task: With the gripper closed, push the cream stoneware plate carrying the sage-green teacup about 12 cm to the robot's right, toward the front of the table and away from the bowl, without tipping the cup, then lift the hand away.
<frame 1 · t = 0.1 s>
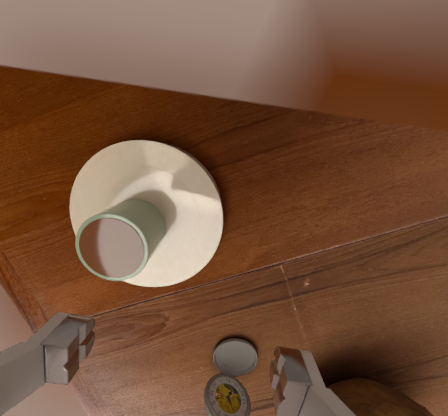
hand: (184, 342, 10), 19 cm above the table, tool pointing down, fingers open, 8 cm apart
teacup: (137, 226, 26), point 2 cm above the table, touching plate
pocket watch: (231, 357, 35), on the table
plate: (153, 214, 29), on the table, touching teacup
bowl: (342, 394, 36), on the table
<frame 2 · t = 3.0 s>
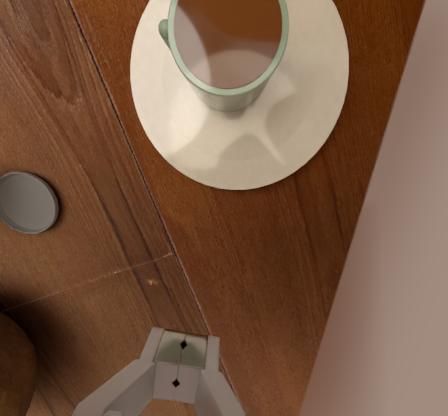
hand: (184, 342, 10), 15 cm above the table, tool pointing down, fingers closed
teacup: (228, 67, 18), point 2 cm above the table, touching plate
pocket watch: (22, 196, 24), on the table
plate: (237, 90, 21), on the table, touching teacup
bowl: (1, 332, 29), on the table
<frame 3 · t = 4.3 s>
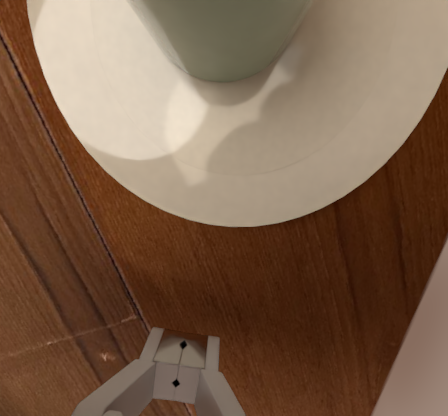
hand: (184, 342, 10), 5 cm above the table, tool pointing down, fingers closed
plate: (239, 48, 12), on the table, touching teacup
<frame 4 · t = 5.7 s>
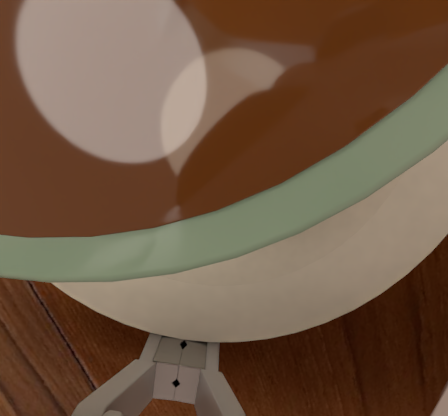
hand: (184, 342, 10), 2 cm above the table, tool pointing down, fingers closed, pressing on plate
teacup: (189, 58, 6), point 2 cm above the table, touching plate
plate: (220, 114, 9), on the table, touching gripper, teacup
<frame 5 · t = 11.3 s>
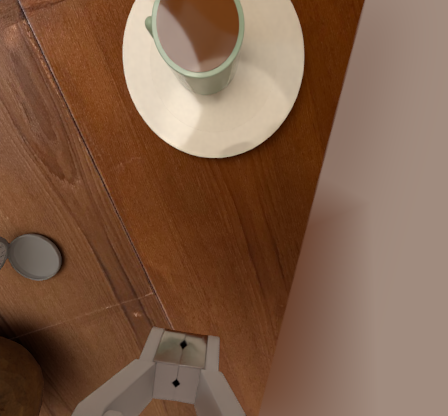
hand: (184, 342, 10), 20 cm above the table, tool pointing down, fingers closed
teacup: (204, 57, 22), point 2 cm above the table, touching plate
pocket watch: (32, 250, 31), on the table
plate: (214, 73, 25), on the table, touching teacup
bowl: (11, 354, 35), on the table
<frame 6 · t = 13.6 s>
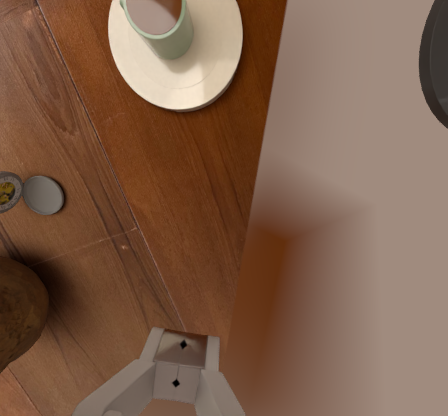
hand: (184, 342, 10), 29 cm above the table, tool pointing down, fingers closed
teacup: (168, 30, 30), point 2 cm above the table, touching plate
pocket watch: (40, 191, 39), on the table
plate: (179, 44, 32), on the table, touching teacup
bowl: (23, 283, 43), on the table
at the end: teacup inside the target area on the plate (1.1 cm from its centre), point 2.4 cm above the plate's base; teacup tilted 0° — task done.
